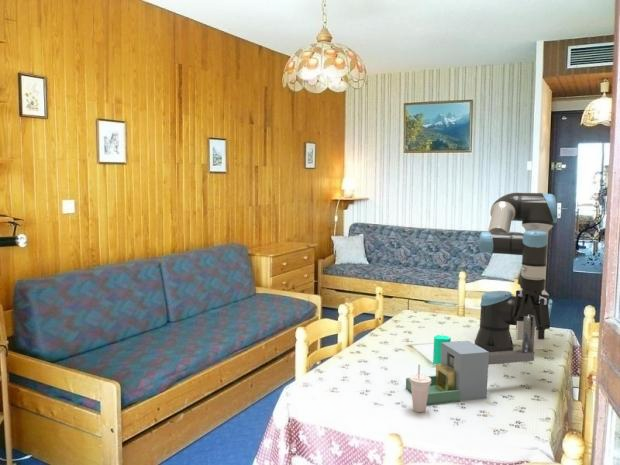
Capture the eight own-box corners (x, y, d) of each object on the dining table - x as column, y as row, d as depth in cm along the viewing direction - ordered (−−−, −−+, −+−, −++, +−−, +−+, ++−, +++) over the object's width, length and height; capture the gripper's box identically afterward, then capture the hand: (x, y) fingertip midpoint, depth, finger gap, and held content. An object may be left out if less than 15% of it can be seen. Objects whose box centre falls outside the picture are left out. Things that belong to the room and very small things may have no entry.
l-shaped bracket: (528, 357, 186) (531, 314, 184) (535, 360, 182) (538, 317, 181) (448, 364, 178) (450, 319, 176) (454, 368, 174) (456, 322, 173)
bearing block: (466, 383, 185) (468, 340, 184) (486, 397, 174) (488, 351, 172) (439, 386, 183) (441, 342, 181) (458, 400, 171) (460, 354, 170)
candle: (449, 367, 200) (451, 336, 199) (433, 366, 202) (434, 334, 200) (449, 362, 206) (450, 331, 205) (432, 361, 207) (434, 330, 206)
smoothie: (406, 405, 167) (407, 360, 166) (426, 404, 168) (428, 360, 166) (411, 414, 161) (413, 368, 160) (433, 413, 162) (434, 368, 160)
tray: (438, 385, 184) (439, 375, 183) (459, 401, 171) (460, 390, 170) (405, 388, 180) (406, 378, 180) (425, 405, 167) (425, 394, 167)
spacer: (441, 386, 181) (442, 363, 180) (454, 396, 173) (455, 371, 172) (435, 387, 180) (436, 363, 179) (447, 397, 172) (448, 372, 172)
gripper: (503, 272, 190) (500, 335, 193) (545, 284, 169) (540, 355, 172) (522, 271, 192) (518, 334, 195) (565, 283, 171) (561, 353, 174)
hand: (528, 343), depth 183 cm, fingers open, 9 cm apart
